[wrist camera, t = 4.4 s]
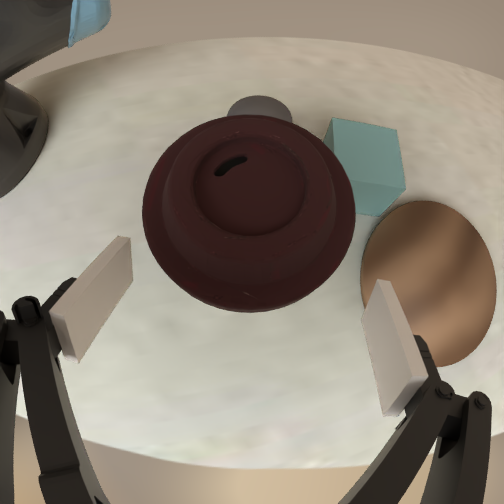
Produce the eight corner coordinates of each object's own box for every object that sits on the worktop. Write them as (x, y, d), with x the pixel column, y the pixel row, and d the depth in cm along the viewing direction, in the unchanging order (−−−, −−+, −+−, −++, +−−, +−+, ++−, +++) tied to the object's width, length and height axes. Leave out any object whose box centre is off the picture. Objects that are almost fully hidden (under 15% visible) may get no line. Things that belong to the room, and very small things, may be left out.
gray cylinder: (218, 162, 30) (213, 116, 23) (257, 134, 31) (260, 87, 24) (254, 197, 29) (258, 155, 22) (293, 166, 30) (305, 121, 23)
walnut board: (324, 281, 27) (327, 278, 26) (419, 177, 30) (424, 172, 29) (434, 400, 24) (440, 401, 23) (507, 282, 27) (513, 280, 26)
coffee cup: (308, 322, 26) (385, 296, 12) (188, 327, 26) (122, 307, 11) (299, 210, 29) (345, 95, 14) (188, 214, 28) (145, 99, 14)
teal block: (318, 209, 29) (335, 177, 23) (318, 154, 31) (332, 117, 25) (378, 216, 29) (405, 188, 23) (374, 163, 31) (396, 129, 25)
